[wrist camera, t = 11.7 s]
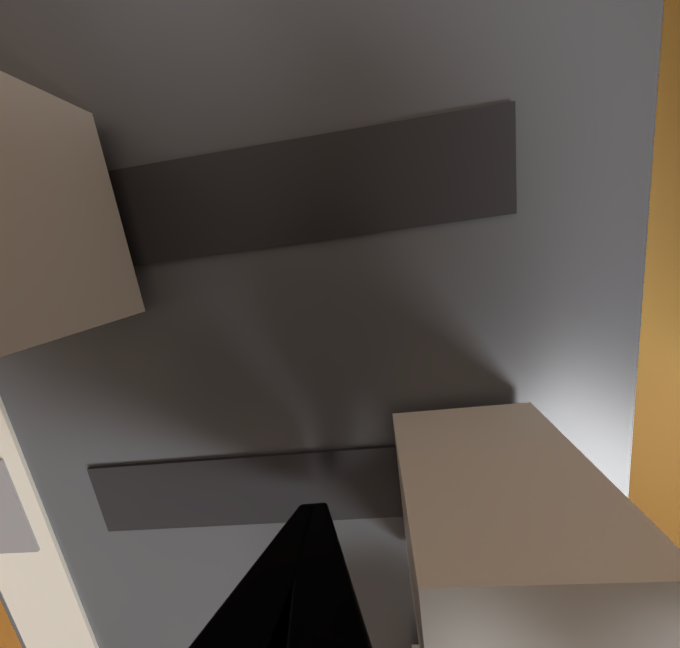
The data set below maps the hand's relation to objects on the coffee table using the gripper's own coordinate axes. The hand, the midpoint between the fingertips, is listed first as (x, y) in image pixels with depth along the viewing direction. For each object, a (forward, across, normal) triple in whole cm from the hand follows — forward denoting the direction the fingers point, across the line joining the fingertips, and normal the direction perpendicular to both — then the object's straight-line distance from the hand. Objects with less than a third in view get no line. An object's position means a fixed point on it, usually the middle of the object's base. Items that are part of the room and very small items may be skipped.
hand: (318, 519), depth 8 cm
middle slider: (+1, -3, 0) cm, 4 cm away
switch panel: (+4, +2, 0) cm, 4 cm away
